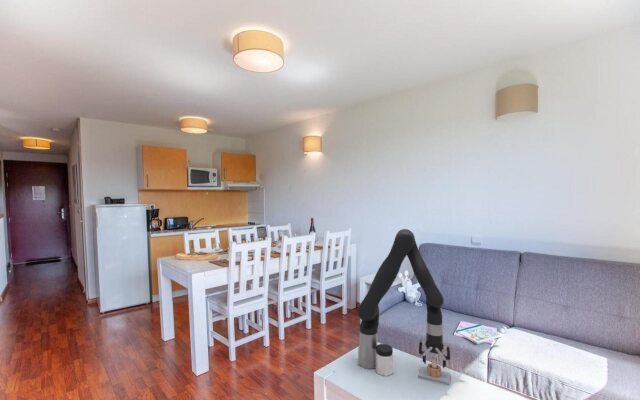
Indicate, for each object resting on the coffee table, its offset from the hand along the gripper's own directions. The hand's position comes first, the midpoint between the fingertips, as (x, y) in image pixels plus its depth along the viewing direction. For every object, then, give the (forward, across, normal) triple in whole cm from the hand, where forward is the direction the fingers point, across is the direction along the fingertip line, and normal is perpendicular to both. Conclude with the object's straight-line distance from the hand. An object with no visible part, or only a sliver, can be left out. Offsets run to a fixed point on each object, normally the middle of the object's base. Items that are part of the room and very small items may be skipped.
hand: (434, 364), depth 152 cm
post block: (+6, 0, 0) cm, 6 cm away
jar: (+6, -23, -6) cm, 24 cm away
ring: (+4, 0, 0) cm, 4 cm away
